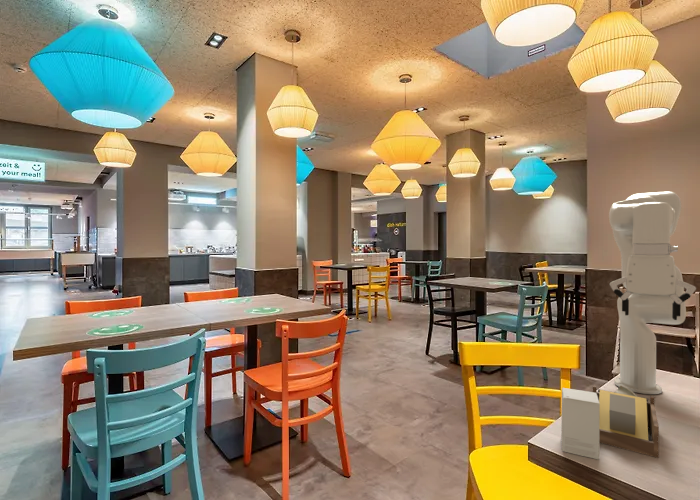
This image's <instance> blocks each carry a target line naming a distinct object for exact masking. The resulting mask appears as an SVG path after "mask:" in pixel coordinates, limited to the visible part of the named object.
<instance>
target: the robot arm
mask: <svg viewBox="0 0 700 500" xmlns="http://www.w3.org/2000/svg"><path fill="white" fill-rule="evenodd" d="M681 211H682V200H681V197H680V196H679V195H678V194H677V193H676V192H674V191H657V192H641V193H640V192H639V193H634V194H631V195H630V196H628V197H627V198H626V199H625V200H620V201H617V202H613V204H612V205H611V206H610V209H609V213H608V219H609V220H608V221H609V225H610V228H611V229H612V235H613V240H614V241H615V243H616V246H617V248H618V250H619V252H620V263H621V278H618V279H616V280H613V281H611V282H610V283H609V287H610V288H611V290H612V291H613V292H614V294H615V295H617V296H618V298H617V299H616V300H617V302H616V305H617V306H616V307H617V312H618V319H619V332H620V334H619V335H620V336H619V337H620V338H619V340H620V341H619V346H620V347H619V353H620V354H619V377H617V378H615V379H614V385H615V386H616V387H618V388H619V386H623V387H626V388H628V389H629V390H631V391H632V392H633V393H639V394H641V395H642V394H643V395H660V394H662V392H663V388H662V386H661V385H659V384H658V383H657V336H656V335H655V332H654V331H653V330H652V329H651V328H650V327H649V326H648V325H647V324H651V323H653V324H660V325H661V324H662V325H673V326H674V325H682V324H683V323H684V322H685V320H686V317H687V308H686V301H688V300H689V299H690V298H691V296H692V295H694V294H693V293H695V292H696V290H697V287H696V286H695V285H693V284H690V283H688V282H685V281H684V279H683V275H682V271H681V270H680V269H681V268H679V267H678V266H677V265H676V262H675V261H676V260H675V258H674V256H673V255H671V254H672V253H675V252H678V251H679V248H678V245H677V246H675V245H672V244H671V236H672V235H674V233H675V232H676V229H677V226H678V223H679V218H680V217H681V216H680V215H681ZM621 284H622V285H623V288H625V289H626V291H625V292H623V291H621V290H620V289H619V287H618V286H619V285H621ZM685 289H686V290H685Z"/></svg>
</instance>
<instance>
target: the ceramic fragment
mask: <svg viewBox="0 0 700 500" xmlns="http://www.w3.org/2000/svg"><path fill="white" fill-rule="evenodd" d="M614 392H616V393H621V394H626V395H632V396H637V397H639V396H638V395H637V394H636V392H632V391H631V390H629V389H628V388H626V387H623V386H619V387H618V388H617V390H616V391H614Z"/></svg>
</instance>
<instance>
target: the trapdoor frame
mask: <svg viewBox="0 0 700 500" xmlns="http://www.w3.org/2000/svg"><path fill="white" fill-rule="evenodd" d="M592 392H594V393H597V396H598V400H599V394H600V392H598V390H597V385H592ZM657 415H658V414H657V410H656V405H655V396H651V395H650V396H649V401H648V402H647V422H648V429H649V432H650V433H649V434H650V438H651V440H649V439H648V440H644V439H640V438H636V437H631V436H627V435H623V434H619V433H615V432H611V431H606V430H602V429H599V444H604V445H608V446H612V447H616V448H620V449H623V450H627V451H630V452H634V453H639V454H641V455H646V456H650V457H653V458H657V459H658V458H659V452H660V451H659V443H660V442H659V440H660V438H659V437H660V436H659V435H660V434H659V433H660V431H659V427H660V426H659V421H658V416H657Z"/></svg>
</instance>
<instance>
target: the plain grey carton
mask: <svg viewBox="0 0 700 500" xmlns="http://www.w3.org/2000/svg"><path fill="white" fill-rule="evenodd" d="M609 415H610V429H612V430H616V431H620V432H624V433H629V434H633V435H635V420H636V411H635V398H630V397H625V396H620V395H614V394H610V408H609Z"/></svg>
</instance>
